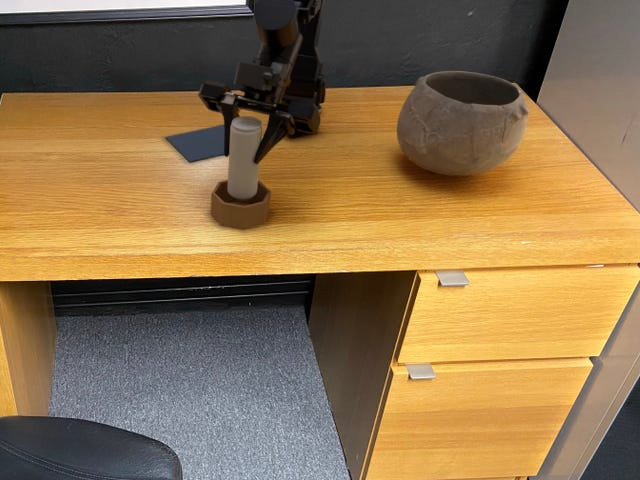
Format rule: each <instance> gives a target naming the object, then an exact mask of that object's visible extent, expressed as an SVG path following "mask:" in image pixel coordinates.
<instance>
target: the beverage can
mask: <svg viewBox="0 0 640 480" xmlns="http://www.w3.org/2000/svg"><path fill="white" fill-rule="evenodd" d="M262 123H263V122H262V121H261V120H260V119H259V118H257V117H254V116H249V115H245V116H244V115H243V116H240V117H237V118H235V119H233V120H232V124H231V128H230V147H229V156H228V168H227V169H228V170H227V180H228V187H227V191H228V193H229V194H230V195H231V196H232V197H233V198H236V199H240V200H239V201H241V200H246V199H250V198H252V197H253V196H254V195H255V194H256V193H257V185H258V181H259V173H260V171H259V170H260V162H259V163H258V164H255V163H254V159H255V155H256V152H257V150H258V147H259V145H260V143H261V140H262V138H263V135H262V134H263V124H262Z"/></svg>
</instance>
